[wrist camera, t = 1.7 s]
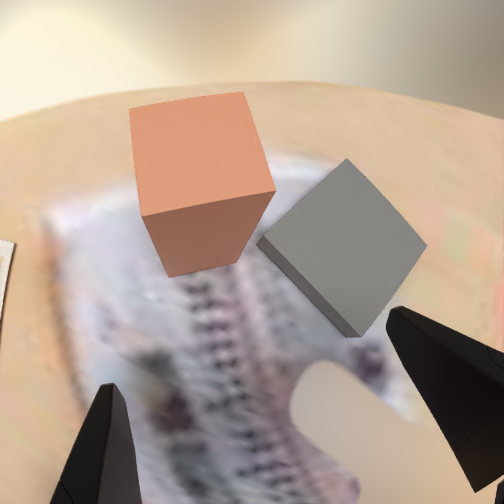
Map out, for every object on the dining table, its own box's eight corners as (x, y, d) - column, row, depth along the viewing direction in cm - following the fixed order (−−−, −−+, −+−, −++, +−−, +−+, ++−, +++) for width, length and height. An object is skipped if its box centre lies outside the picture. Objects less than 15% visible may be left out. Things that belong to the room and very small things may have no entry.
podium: (346, 337, 24) (361, 337, 21) (256, 245, 24) (263, 235, 22) (410, 252, 27) (427, 245, 24) (335, 171, 27) (346, 158, 25)
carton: (236, 262, 24) (276, 190, 12) (169, 277, 23) (141, 216, 11) (220, 201, 25) (243, 91, 13) (156, 213, 24) (129, 108, 12)
